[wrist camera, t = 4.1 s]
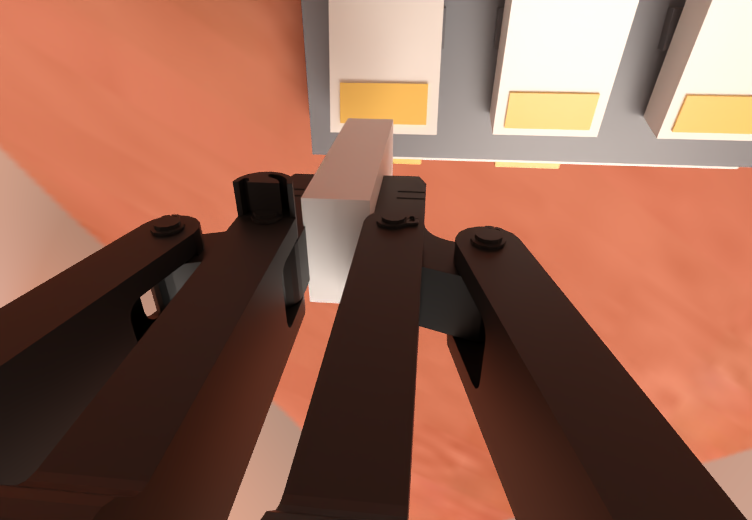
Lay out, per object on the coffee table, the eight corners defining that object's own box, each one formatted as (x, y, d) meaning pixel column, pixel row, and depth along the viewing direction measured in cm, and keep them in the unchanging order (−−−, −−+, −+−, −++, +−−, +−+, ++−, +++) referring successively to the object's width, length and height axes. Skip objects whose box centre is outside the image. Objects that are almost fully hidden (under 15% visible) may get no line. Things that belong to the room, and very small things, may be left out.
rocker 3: (721, -95, 17) (748, -84, 16) (860, -97, 17) (902, -86, 15) (643, 116, 23) (657, 140, 21) (747, 118, 22) (769, 143, 21)
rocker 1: (337, -73, 20) (326, -90, 18) (447, -74, 20) (449, -93, 18) (338, 128, 23) (329, 132, 21) (436, 131, 22) (436, 135, 20)
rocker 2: (518, -92, 18) (524, -81, 16) (647, -94, 18) (666, -83, 16) (489, 113, 23) (492, 136, 22) (587, 115, 23) (597, 138, 21)
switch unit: (316, -124, 24) (286, -145, 19) (812, -135, 22) (919, -163, 17) (330, 135, 30) (311, 168, 25) (712, 145, 28) (769, 183, 23)
